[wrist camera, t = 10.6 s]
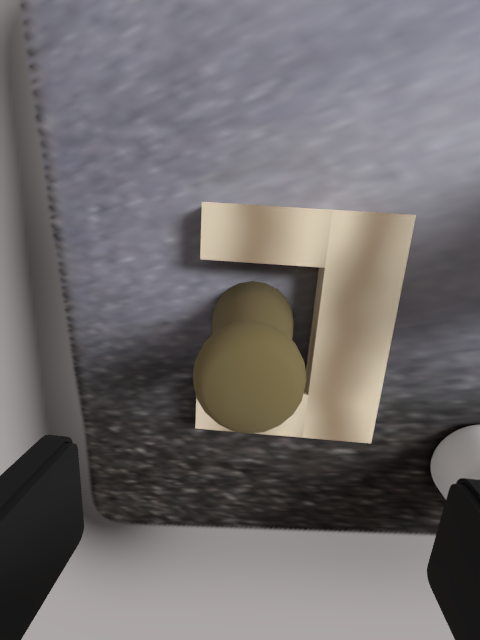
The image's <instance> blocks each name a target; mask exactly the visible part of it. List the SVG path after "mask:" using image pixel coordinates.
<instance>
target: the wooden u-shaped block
mask: <svg viewBox="0 0 480 640" xmlns="http://www.w3.org/2000/svg"><path fill="white" fill-rule="evenodd" d="M415 218H416V215H407V214H391V213H375V212H358V211H342V210H326V209H310V208H293V207H277V206H261V205H245V204H228V203H212V202H202V214H201V249H200V259H203V260H217V261H232V262H247V263H262V264H277V265H291V266H306V267H319V271H318V279H317V287H316V295H315V303H314V311H313V319H312V326H311V334H310V342H309V350H308V358H307V366H306V379H307V380H306V385H305V389H304V393H303V398H302V401H301V403H300V404H299V406H298V408H297V409H296V411H295V412H294V414H293V415H292V416H291V417H289V418H288V419H287V420H286V421H285V422H283V423H282V424H281V425H279V426H277V427H275V428H273V429H270V430H268V431H265V432H260V433H255V434H267V435H279V436H290V437H302V438H314V439H325V440H337V441H349V442H360V443H371V441H372V436H373V431H374V426H375V421H376V416H377V411H378V406H379V401H380V396H381V391H382V386H383V381H384V375H385V370H386V365H387V360H388V355H389V350H390V345H391V340H392V335H393V330H394V325H395V320H396V315H397V310H398V305H399V299H400V294H401V289H402V284H403V279H404V274H405V269H406V264H407V259H408V254H409V249H410V244H411V239H412V234H413V229H414V224H415ZM195 428H197V429H209V430H221V431H232V430H229V429H227V428H225V427H223V426H221V425H219V424H218V423H216V422H215V421H214V420H213V419H212V418H211V417H210V416H209V415H207V414H206V413H205V412H204V410H203V408H202V407H201V405H200V403H199V402H198V400H197V398H196V425H195ZM232 432H234V431H232Z"/></svg>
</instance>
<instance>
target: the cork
mask: <svg viewBox="0 0 480 640" xmlns="http://www.w3.org/2000/svg"><path fill="white" fill-rule="evenodd" d="M293 326H294V320H293V312H292V308H291V306H290V304H289V302H288V300H287V298H286V297H285V296H284V295H283V294H282V293H281V292H280V291H279V290H278V289H276V288H274V287H272V286H270V285H268V284H266V283H260V282H254V281H252V282H245V283H239V284H237V285H235V286H233V287H232V288H230V289H228V290H227V291H226V292H225V293H224V294H223V295H222V296H221V297H220V298H219V299H218V301H217V303H216V305H215V308H214V310H213V317H212V334H211V336H210V337H209V338H208V339H207V340H206V341H205V342H204V344H203V346H202V348H201V350H200V352H199V354H198V356H197V358H196V360H195V363H194V371H193V384H194V389H195V393H196V398H197V400H198V402H199V403H200V405H201V407H202V408H203V410H204V412H205V413H206V414H207V415H209V416H210V417H211V418H212V419H213V420H214V421H215V422H216V423H218V424H219V425H221V426H223V427H225V428H227V429H229V430H232V431H234V432H240V433H247V434H251V433H260V432H265V431H268V430H270V429H273V428H275V427H277V426H279V425H281V424H282V423H283V422H285V421H286V420H287V419H288V418H289V417H291V416H292V415H293V414H294V412H295V411H296V409H297V408H298V406H299V404H300V403H301V401H302V398H303V393H304V389H305V385H306V380H307V379H306V371H305V363H304V360H303V358H302V356H301V354H300V352H299V350H298V348H297V346H296V344H295V343H294V342H293V341H292V337H293Z"/></svg>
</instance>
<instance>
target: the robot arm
mask: <svg viewBox="0 0 480 640" xmlns="http://www.w3.org/2000/svg"><path fill="white" fill-rule="evenodd" d="M83 530H84V520H83V508H82V496H81V484H80V471H79V459H78V449H77V445H76V444H73V443H72V440H71V438H69V437H64V436H54V435H45V436H44V437H42V438H41V439H40V440H39V441H38V442H37V443H36V444H34V445H33V446H32V447H31V448H30V449H29V450H28V451H27V452H26V453H25V454H23V455H22V456H21V457H20V458H19V459H18V460H17V461H16V462H15V463H14V464H13V465H11V467H9V468H8V469H7V470H6V471H5V472H4V473H3V474H2V475H1V476H0V640H21V639H22V637H23V635H24V634H25V632H26V630H27V629H28V627H29V625H30V624H31V622H32V620H33V619H34V617H35V615H36V614H37V612H38V610H39V609H40V607H41V605H42V604H43V602H44V600H45V599H46V597H47V595H48V594H49V592H50V590H51V589H52V587H53V585H54V584H55V582H56V580H57V579H58V577H59V576H60V574H61V572H62V571H63V569H64V567H65V566H66V564H67V562H68V561H69V559H70V557H71V556H72V554H73V552H74V550H75V549H76V547H77V545H78V544H79V542H80V540H81V537H82V534H83ZM427 575H428V580H429V584H430V586H431V588H432V591H433V593H434V595H435V597H436V600H437V602H438V604H439V606H440V608H441V610H442V612H443V615H444V617H445V619H446V621H447V623H448V625H449V627H450V630H451V632H452V634H453V636H454V638H455V640H480V480H477V479H467V478H460V479H459V480H458V481H457V483H456V484H452V485H451V486H450V488H449V492H448V495H447V499H446V503H445V506H444V510H443V513H442V517H441V520H440V524H439V527H438V531H437V535H436V538H435V542H434V545H433V549H432V553H431V556H430V559H429V563H428V568H427Z"/></svg>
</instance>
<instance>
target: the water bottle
mask: <svg viewBox="0 0 480 640" xmlns="http://www.w3.org/2000/svg"><path fill="white" fill-rule="evenodd" d="M430 468H431V475H432V478H433V481H434V483H435V484H436V486H437V488H438V489H439V491H440V492H441V494H442V495H443V496H444V498H445V499H447V495H448V492H449V488H450V486H451V485H452V484H456V483H457V481H458V480H459V479H460V478H467V479H477V480H480V425H472V426H467V427H464V428H461V429H458V430H456V431H454V432H453V433H451V434H449V435H448V436H447V437H445V438H444V439H443V440H442V441H441V442H440V443H439V445H438V446H437V448H436V449H435V451H434V453H433V456H432V459H431V465H430Z"/></svg>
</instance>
